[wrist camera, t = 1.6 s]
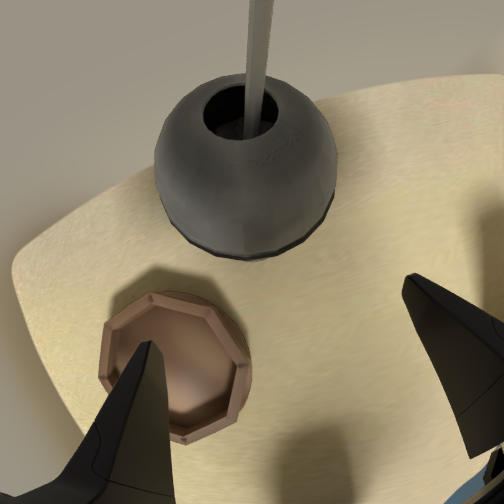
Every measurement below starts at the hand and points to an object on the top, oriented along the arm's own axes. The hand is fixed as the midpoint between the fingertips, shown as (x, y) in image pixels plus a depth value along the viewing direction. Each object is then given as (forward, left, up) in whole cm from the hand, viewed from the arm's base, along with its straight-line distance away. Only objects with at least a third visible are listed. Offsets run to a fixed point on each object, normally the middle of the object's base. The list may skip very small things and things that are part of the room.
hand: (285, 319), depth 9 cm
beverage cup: (+5, +2, -13) cm, 14 cm away
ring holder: (-7, +6, -13) cm, 16 cm away
